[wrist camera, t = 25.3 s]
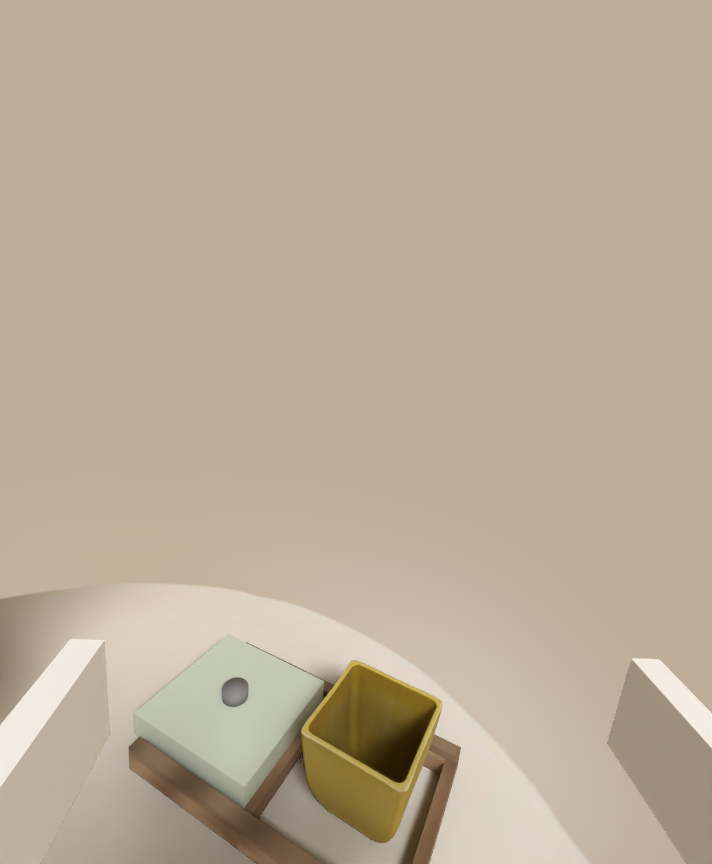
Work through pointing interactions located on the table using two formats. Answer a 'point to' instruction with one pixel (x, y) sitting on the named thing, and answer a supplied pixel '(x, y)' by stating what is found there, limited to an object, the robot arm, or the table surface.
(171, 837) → the table surface
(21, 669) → the table surface
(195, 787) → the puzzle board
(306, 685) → the cover
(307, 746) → the flower pot
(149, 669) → the table surface
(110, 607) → the table surface
